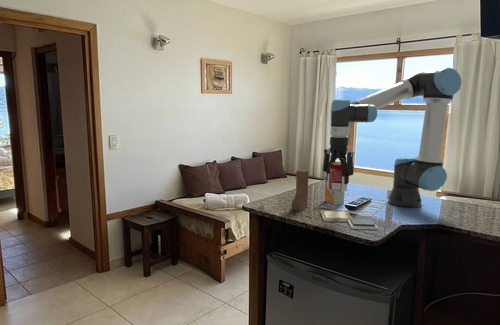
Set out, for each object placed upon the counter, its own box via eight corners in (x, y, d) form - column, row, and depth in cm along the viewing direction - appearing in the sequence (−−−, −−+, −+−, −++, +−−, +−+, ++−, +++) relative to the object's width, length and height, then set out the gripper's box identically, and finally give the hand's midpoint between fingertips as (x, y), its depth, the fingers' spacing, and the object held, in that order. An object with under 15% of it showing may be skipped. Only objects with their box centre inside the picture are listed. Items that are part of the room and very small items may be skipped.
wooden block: (300, 211, 165) (301, 173, 162) (291, 209, 167) (292, 172, 164) (307, 206, 172) (308, 170, 169) (299, 205, 175) (300, 169, 172)
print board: (347, 213, 162) (347, 210, 161) (352, 222, 150) (352, 218, 150) (320, 212, 163) (320, 209, 162) (323, 221, 151) (323, 218, 150)
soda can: (341, 192, 150) (343, 164, 148) (326, 190, 153) (327, 163, 151) (346, 189, 155) (348, 162, 153) (331, 187, 159) (332, 161, 157)
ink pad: (372, 222, 149) (372, 218, 148) (377, 229, 141) (377, 225, 141) (347, 222, 149) (348, 218, 149) (351, 228, 142) (352, 224, 141)
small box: (324, 201, 182) (325, 176, 180) (334, 199, 185) (335, 175, 183) (333, 205, 175) (334, 179, 173) (344, 203, 178) (345, 178, 175)
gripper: (315, 135, 155) (313, 186, 159) (354, 138, 141) (351, 195, 144) (325, 134, 160) (323, 184, 164) (364, 137, 145) (361, 192, 149)
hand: (336, 189), depth 154 cm, fingers closed on soda can, 7 cm apart
